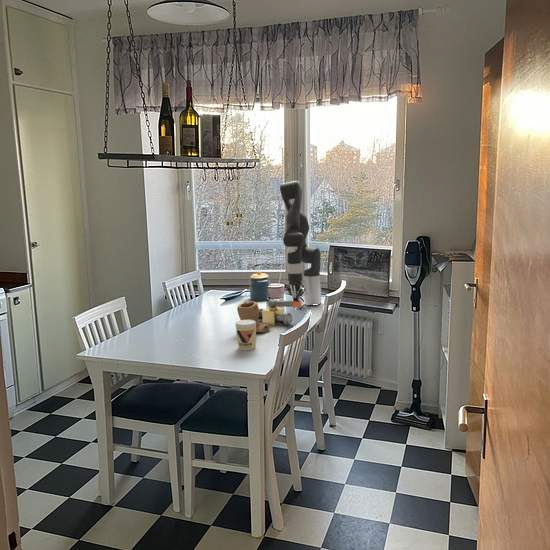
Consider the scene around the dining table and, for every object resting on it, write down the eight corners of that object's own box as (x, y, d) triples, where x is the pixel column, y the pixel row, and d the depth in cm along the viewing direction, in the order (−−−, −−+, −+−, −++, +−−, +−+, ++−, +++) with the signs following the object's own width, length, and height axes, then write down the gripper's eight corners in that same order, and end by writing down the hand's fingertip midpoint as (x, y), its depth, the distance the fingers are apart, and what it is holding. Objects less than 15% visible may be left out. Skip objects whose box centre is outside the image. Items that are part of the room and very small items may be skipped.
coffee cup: (234, 351, 256) (233, 325, 254) (239, 344, 265) (237, 319, 263) (255, 351, 255) (254, 324, 253) (259, 344, 264) (257, 319, 262)
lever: (268, 307, 296) (268, 301, 296) (270, 305, 300) (269, 299, 300) (301, 307, 292) (300, 302, 292) (302, 305, 296) (302, 300, 295)
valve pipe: (254, 321, 303) (253, 305, 301) (264, 318, 309) (263, 302, 307) (283, 327, 290) (283, 310, 288) (293, 323, 296) (293, 307, 294)
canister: (260, 302, 345) (259, 273, 342) (245, 299, 354) (244, 271, 350) (275, 298, 354) (274, 270, 351) (260, 295, 363) (259, 268, 360)
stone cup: (234, 334, 282) (232, 304, 279) (244, 327, 293) (242, 298, 290) (262, 336, 277) (261, 306, 274) (271, 329, 288) (270, 300, 285)
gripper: (280, 271, 298) (282, 303, 301) (298, 274, 287) (299, 308, 291) (291, 269, 302) (293, 301, 306) (309, 272, 292) (310, 305, 295)
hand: (296, 304), depth 298 cm, fingers closed
